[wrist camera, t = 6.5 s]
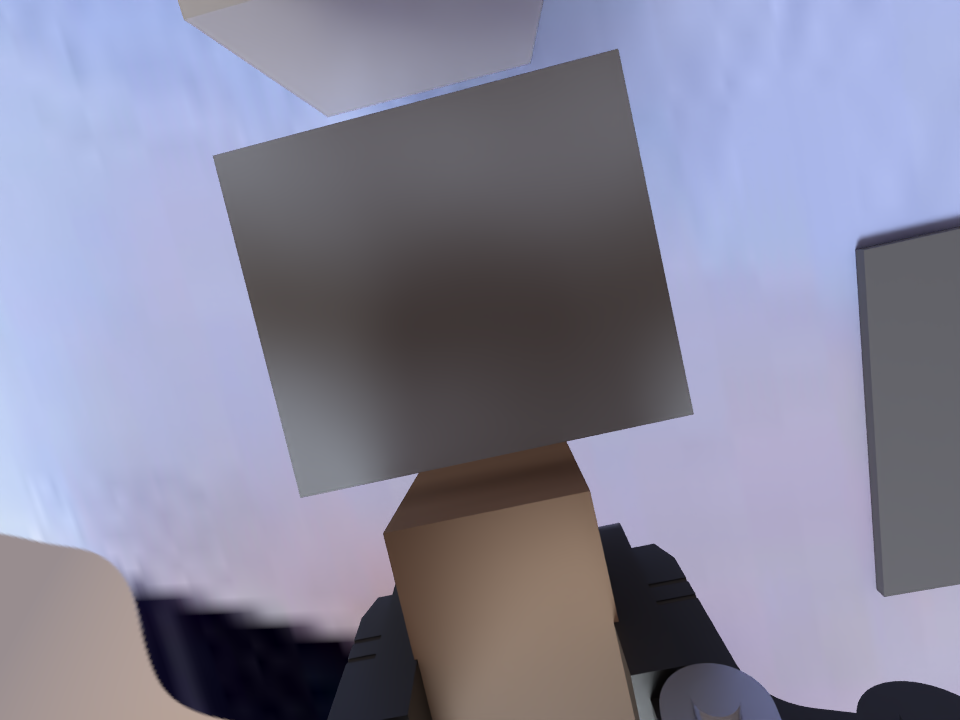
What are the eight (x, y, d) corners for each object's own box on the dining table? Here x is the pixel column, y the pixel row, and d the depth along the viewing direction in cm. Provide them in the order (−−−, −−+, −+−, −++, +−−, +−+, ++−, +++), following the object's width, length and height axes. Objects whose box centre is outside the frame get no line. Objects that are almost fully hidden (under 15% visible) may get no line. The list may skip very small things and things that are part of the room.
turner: (238, 170, 11) (90, 87, 7) (607, 74, 11) (667, -74, 7) (422, 891, 12) (380, 1166, 8) (767, 838, 12) (901, 1106, 8)
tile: (315, 73, 25) (155, -68, 13) (521, 16, 24) (545, -186, 12) (327, 117, 25) (184, 19, 14) (530, 63, 24) (561, -89, 13)
